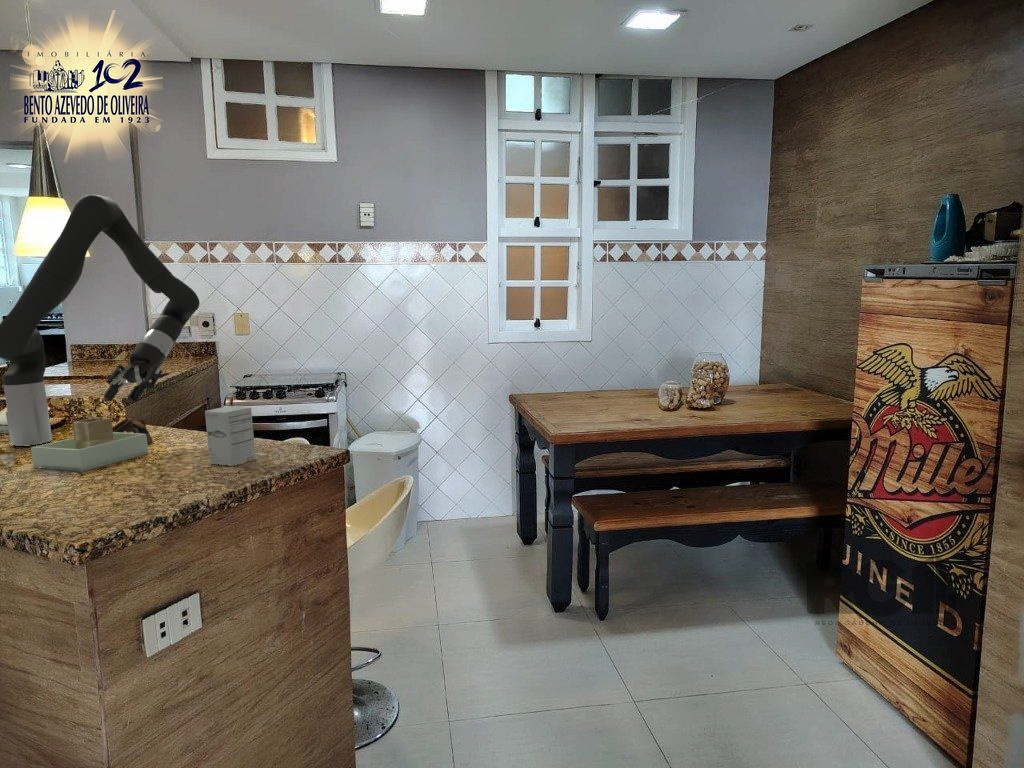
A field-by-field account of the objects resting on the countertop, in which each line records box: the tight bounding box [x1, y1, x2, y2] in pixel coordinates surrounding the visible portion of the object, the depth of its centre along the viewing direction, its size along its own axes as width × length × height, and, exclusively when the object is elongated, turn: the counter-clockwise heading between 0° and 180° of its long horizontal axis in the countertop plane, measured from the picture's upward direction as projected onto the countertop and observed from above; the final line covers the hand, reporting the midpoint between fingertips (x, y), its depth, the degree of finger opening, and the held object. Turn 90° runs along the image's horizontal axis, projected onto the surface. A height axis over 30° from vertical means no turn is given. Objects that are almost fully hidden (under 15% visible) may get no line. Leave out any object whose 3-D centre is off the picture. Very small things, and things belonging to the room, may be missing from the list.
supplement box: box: [204, 405, 256, 467], centre depth 158 cm, size 7×7×13 cm
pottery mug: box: [112, 417, 153, 445], centre depth 186 cm, size 12×10×8 cm
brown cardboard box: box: [72, 417, 114, 449], centre depth 167 cm, size 6×6×9 cm
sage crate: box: [30, 432, 149, 472], centre depth 167 cm, size 16×18×5 cm
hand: (119, 399), depth 174 cm, fingers open, 8 cm apart
